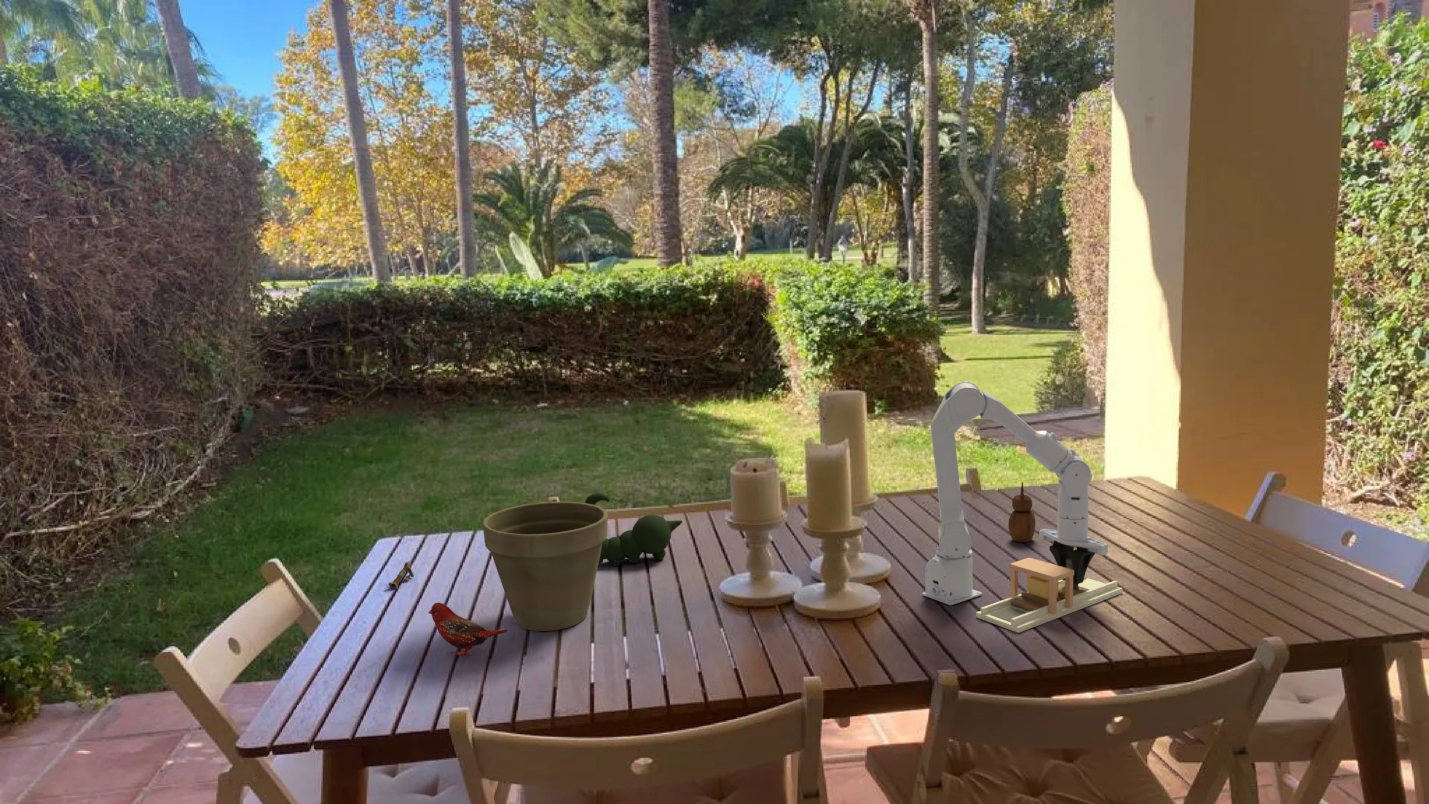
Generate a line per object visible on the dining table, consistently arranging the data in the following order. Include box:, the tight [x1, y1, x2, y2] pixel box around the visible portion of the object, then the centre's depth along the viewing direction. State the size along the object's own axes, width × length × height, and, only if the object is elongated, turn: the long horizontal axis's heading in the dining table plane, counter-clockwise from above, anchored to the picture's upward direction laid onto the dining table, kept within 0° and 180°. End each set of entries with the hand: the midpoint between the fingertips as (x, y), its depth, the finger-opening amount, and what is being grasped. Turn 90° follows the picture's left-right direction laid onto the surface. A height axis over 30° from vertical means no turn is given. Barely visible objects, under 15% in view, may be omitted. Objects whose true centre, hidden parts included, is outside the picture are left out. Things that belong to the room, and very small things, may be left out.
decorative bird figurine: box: [428, 602, 509, 657], centre depth 172 cm, size 3×18×10 cm, turn 69°
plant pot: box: [482, 501, 609, 632], centre depth 188 cm, size 25×25×22 cm
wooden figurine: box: [1007, 481, 1037, 543], centre depth 225 cm, size 7×6×15 cm
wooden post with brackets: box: [387, 561, 415, 590], centre depth 216 cm, size 2×8×4 cm, turn 164°
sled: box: [1011, 557, 1089, 611], centre depth 183 cm, size 16×6×7 cm, turn 123°
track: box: [975, 557, 1123, 634], centre depth 184 cm, size 32×10×8 cm, turn 123°
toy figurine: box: [584, 492, 683, 568], centre depth 223 cm, size 9×19×25 cm
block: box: [1028, 576, 1058, 602], centre depth 182 cm, size 4×4×4 cm
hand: (1072, 581), depth 187 cm, fingers closed on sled, 2 cm apart
